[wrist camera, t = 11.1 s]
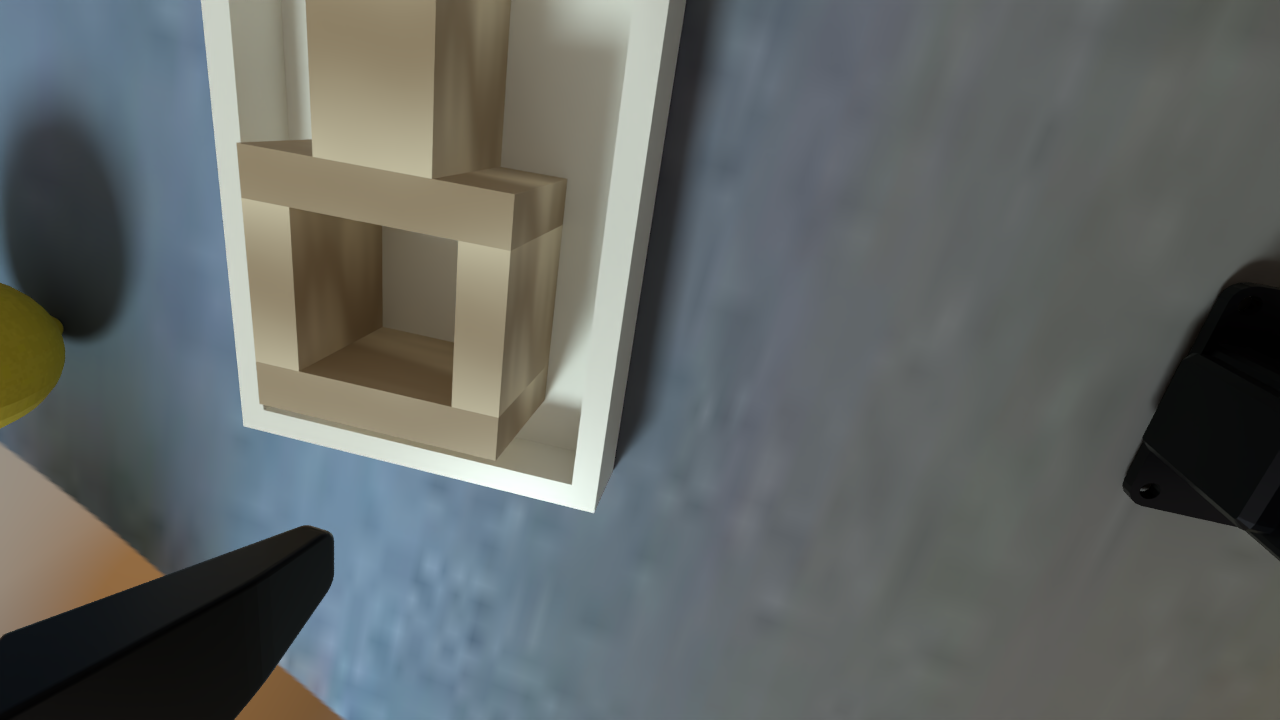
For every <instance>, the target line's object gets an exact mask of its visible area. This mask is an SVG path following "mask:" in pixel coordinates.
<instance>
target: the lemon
mask: <svg viewBox="0 0 1280 720" xmlns="http://www.w3.org/2000/svg"><path fill="white" fill-rule="evenodd" d="M62 333H63V325H62V323H61V322H60V321H59V320H58V319H56V318H54V317H52V316H50V315H49V313H48V312H47V311H46V310H45V309H44V308H43V307H42V306H41V305H39V304H38V303H37V302H36V301H34V300H33V299H32V298H31V297H29V296H27V295H25V294H23V293H22V292H20V291H18V290H16V289H14V288H12V287H10V286H8V285H5V284H2V283H0V428H2V427H4V426H6V425H8V424H10V423H12V422H14V421H16V420H18V419H19V418H21V417H23V416H24V415H26V414H27V413H29V412H30V411H32V410H33V409H34V408H36V407H37V406H38V405H39V404H40V403H41V402H42V401H43V400H44V399H45V398H46V397H47V395H48V394H49V393H50V392H51V390H52V389H53V388H54V387H55V385H56V384H57V382H58V380H59V378H60V376H61V373H62V370H63V367H64V362H65V347H64V342H63V337H62Z"/></svg>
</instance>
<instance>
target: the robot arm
mask: <svg viewBox="0 0 1280 720" xmlns="http://www.w3.org/2000/svg"><path fill="white" fill-rule="evenodd" d="M1249 296H1251V298H1252V299H1251V304H1250V305H1249V306H1248V307H1247V308H1246V309H1244V310H1242V311H1239V310H1238V306H1239V303H1240V302H1241V301H1242V300H1243V299H1244V298H1246V297H1249ZM1143 441H1144V442H1143V444H1142V446H1141V448H1140V450H1139V451H1138V453H1137V455H1136V457H1135V459H1134V461H1133V463H1132V465H1131V467H1130V469H1129V471H1128V473H1127V475H1126V477H1125V479H1124V481H1123V485H1122V486H1123V489H1124V492H1125V493H1126V494H1127V495H1128V496H1129V497H1130V498H1131V499H1132V500H1133V501H1134V502H1135V503H1136V504H1139V505H1141V506H1145V507H1149V508H1154V509H1158V510H1163V511H1167V512H1172V513H1176V514H1181V515H1185V516H1190V517H1194V518H1199V519H1203V520H1208V521H1212V522H1217V523H1221V524H1226V525H1230V526H1235V527H1238V528H1240V529H1242V530H1245V531H1246V532H1247V533H1248V534H1249V535H1250V536H1252V537H1253V538H1254V539H1255V540H1256V541H1257V542H1258V543H1260V544H1261V545H1262V546H1263V547H1264V548H1265V549H1267V550H1268V551H1269V552H1270V553H1271V554H1272V555H1273V556H1275V557H1276V558H1277V559H1278V560H1279V561H1280V288H1277V287H1271V286H1265V285H1260V284H1254V283H1238V284H1235V285H1231V286H1230V287H1228V288H1227V289H1225V290H1224V291H1223V292H1222V293H1221V295H1220V296H1219V297H1218V299H1217V301H1216V303H1215V305H1214V307H1213V309H1212V310H1211V312H1210V314H1209V316H1208V318H1207V320H1206V322H1205V324H1204V326H1203V328H1202V330H1201V332H1200V334H1199V336H1198V338H1197V339H1196V341H1195V343H1194V345H1193V347H1192V349H1191V351H1190V353H1189V355H1188V356H1187V357H1186V358H1185V359H1183V360H1182V361H1181V363H1180V365H1179V367H1178V369H1177V371H1176V373H1175V375H1174V377H1173V379H1172V381H1171V383H1170V385H1169V387H1168V389H1167V391H1166V393H1165V394H1164V396H1163V398H1162V400H1161V402H1160V404H1159V406H1158V408H1157V410H1156V412H1155V414H1154V416H1153V418H1152V420H1151V422H1150V424H1149V426H1148V427H1147V429H1146V431H1145V433H1144V435H1143ZM1148 483H1153V484H1152V487H1151V488H1150V489H1148V490H1146V491H1140V489H1141V488H1142V487H1143V486H1144V485H1146V484H1148ZM333 577H334V538H333V535H332V534H331V533H330V532H329V531H326V530H323V529H319V528H316V527H313V526H309V525H305V526H301V527H297V528H295V529H292V530H289V531H286V532H284V533H281V534H278V535H275V536H273V537H270V538H267V539H265V540H262V541H259V542H256V543H254V544H251V545H248V546H245V547H243V548H240V549H237V550H234V551H232V552H229V553H226V554H223V555H221V556H218V557H215V558H212V559H210V560H207V561H204V562H201V563H199V564H196V565H193V566H190V567H188V568H185V569H182V570H179V571H177V572H174V573H171V574H168V575H166V576H163V577H160V578H157V579H155V580H152V581H149V582H147V583H144V584H141V585H138V586H136V587H133V588H130V589H127V590H125V591H122V592H119V593H116V594H114V595H111V596H108V597H105V598H103V599H100V600H97V601H94V602H92V603H89V604H86V605H84V606H81V607H78V608H75V609H72V610H70V611H67V612H64V613H61V614H59V615H56V616H53V617H50V618H48V619H45V620H42V621H39V622H37V623H34V624H31V625H28V626H26V627H23V628H20V629H17V630H15V631H12V632H9V633H7V634H4V635H3V636H2V637H1V638H0V720H234V719H235V718H236V717H237V715H238V714H239V713H240V712H241V711H242V710H243V708H244V707H245V706H246V705H247V704H248V702H249V701H250V700H251V699H252V697H253V696H254V695H255V694H256V692H257V691H258V690H259V689H260V687H261V686H262V685H263V683H264V682H265V681H266V680H267V678H268V677H269V675H270V674H271V673H272V671H273V670H274V668H275V667H276V666H277V664H278V663H279V661H280V660H281V658H282V657H283V656H284V654H285V653H286V651H287V650H288V648H289V647H290V645H291V644H292V643H293V641H294V640H295V638H296V637H297V635H298V634H299V632H300V631H301V630H302V628H303V627H304V625H305V624H306V622H307V621H308V619H309V618H310V616H311V615H312V614H313V612H314V611H315V609H316V608H317V606H318V605H319V603H320V602H321V601H322V599H323V598H324V596H325V595H326V593H327V592H328V590H329V588H330V586H331V584H332V581H333Z"/></svg>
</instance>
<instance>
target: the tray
mask: <svg viewBox="0 0 1280 720" xmlns="http://www.w3.org/2000/svg"><path fill="white" fill-rule="evenodd" d="M201 5H202V15H203V25H204V35H205V45H206V55H207V65H208V75H209V85H210V95H211V105H212V115H213V125H214V135H215V145H216V155H217V165H218V175H219V185H220V195H221V205H222V215H223V225H224V235H225V245H226V255H227V265H228V275H229V285H230V295H231V305H232V315H233V325H234V335H235V345H236V355H237V365H238V375H239V385H240V395H241V405H242V415H243V425H244V426H245V427H249V428H253V429H257V430H261V431H265V432H269V433H273V434H277V435H281V436H285V437H289V438H293V439H297V440H301V441H305V442H309V443H313V444H317V445H321V446H325V447H329V448H333V449H338V450H342V451H346V452H350V453H354V454H358V455H362V456H366V457H370V458H374V459H378V460H382V461H386V462H390V463H394V464H398V465H402V466H406V467H410V468H414V469H418V470H422V471H426V472H430V473H434V474H438V475H442V476H446V477H450V478H454V479H459V480H463V481H467V482H471V483H475V484H479V485H483V486H487V487H491V488H495V489H499V490H503V491H507V492H511V493H515V494H519V495H523V496H527V497H531V498H535V499H539V500H543V501H547V502H551V503H555V504H559V505H563V506H567V507H571V508H575V509H580V510H584V511H588V512H592V513H594V512H595V510H596V508H597V505H598V503H599V501H600V499H601V497H602V494H603V492H604V490H605V488H606V485H607V483H608V481H609V479H610V477H611V474H612V472H613V467H614V461H615V455H616V448H617V442H618V435H619V429H620V422H621V416H622V410H623V403H624V397H625V390H626V384H627V378H628V371H629V365H630V358H631V352H632V346H633V339H634V333H635V326H636V320H637V314H638V307H639V301H640V294H641V288H642V281H643V275H644V269H645V262H646V256H647V249H648V243H649V237H650V230H651V224H652V217H653V211H654V205H655V198H656V192H657V185H658V179H659V172H660V166H661V160H662V153H663V147H664V140H665V134H666V128H667V121H668V115H669V108H670V102H671V96H672V89H673V83H674V76H675V70H676V64H677V57H678V51H679V44H680V38H681V31H682V25H683V19H684V12H685V6H686V0H511V11H510V26H509V42H508V58H507V74H506V90H505V106H504V122H503V138H502V153H501V167H505V168H510V169H516V170H521V171H527V172H532V173H538V174H543V175H549V176H554V177H560V178H566V179H567V189H566V199H565V208H564V218H563V228H562V238H561V248H560V257H559V267H558V277H557V287H556V296H555V306H554V316H553V326H552V335H551V345H550V355H549V365H548V375H547V384H546V394H545V400H544V402H543V403H542V404H541V405H540V406H539V408H538V409H537V410H536V411H535V413H534V414H533V415H532V416H531V418H530V419H529V420H528V421H527V423H526V424H525V425H524V426H523V427H522V429H521V430H520V431H519V432H518V434H517V435H516V436H515V437H514V439H513V440H512V441H511V442H510V443H509V445H508V446H507V447H506V448H505V450H504V451H503V452H502V453H501V455H500V456H499V457H498V458H497V460H496V461H494V460H490V459H486V458H482V457H477V456H473V455H469V454H465V453H461V452H457V451H453V450H448V449H444V448H440V447H436V446H432V445H428V444H424V443H419V442H415V441H411V440H407V439H403V438H399V437H395V436H390V435H386V434H382V433H378V432H374V431H370V430H366V429H362V428H357V427H353V426H349V425H345V424H341V423H337V422H333V421H328V420H324V419H320V418H316V417H312V416H308V415H304V414H299V413H295V412H291V411H287V410H283V409H279V408H275V407H270V406H266V405H262V404H259V392H258V381H257V370H256V359H255V347H254V336H253V325H252V313H251V302H250V291H249V279H248V268H247V257H246V246H245V234H244V223H243V212H242V200H241V189H240V178H239V167H238V155H237V144H236V143H239V142H261V141H284V140H307V139H312V133H311V111H310V89H309V67H308V45H307V23H306V1H305V0H201ZM457 258H458V241H457V240H452V239H447V238H442V237H437V236H432V235H427V234H422V233H417V232H412V231H407V230H402V229H397V228H391V227H386V226H382V296H383V327H386V328H390V329H395V330H399V331H404V332H409V333H413V334H418V335H422V336H427V337H431V338H436V339H441V340H445V341H450V342H454V332H455V308H456V283H457Z"/></svg>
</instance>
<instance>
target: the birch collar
mask: <svg viewBox="0 0 1280 720" xmlns="http://www.w3.org/2000/svg"><path fill="white" fill-rule="evenodd" d="M305 1H306V23H307V45H308V67H309V89H310V111H311V133H312V139H307V140H284V141H261V142H239V143H236V144H237V155H238V167H239V178H240V189H241V200H242V212H243V223H244V234H245V246H246V257H247V268H248V279H249V291H250V302H251V313H252V325H253V336H254V347H255V359H256V370H257V381H258V392H259V404H262V405H266V406H270V407H275V408H279V409H283V410H287V411H291V412H295V413H299V414H304V415H308V416H312V417H316V418H320V419H324V420H328V421H333V422H337V423H341V424H345V425H349V426H353V427H357V428H362V429H366V430H370V431H374V432H378V433H382V434H386V435H390V436H395V437H399V438H403V439H407V440H411V441H415V442H419V443H424V444H428V445H432V446H436V447H440V448H444V449H448V450H453V451H457V452H461V453H465V454H469V455H473V456H477V457H482V458H486V459H490V460H494V461H496V460H497V458H498V457H499V456H500V455H501V453H502V452H503V451H504V450H505V448H506V447H507V446H508V445H509V443H510V442H511V441H512V440H513V439H514V437H515V436H516V435H517V434H518V432H519V431H520V430H521V429H522V427H523V426H524V425H525V424H526V423H527V421H528V420H529V419H530V418H531V416H532V415H533V414H534V413H535V411H536V410H537V409H538V408H539V406H540V405H541V404H542V403H543V402H544V400H545V394H546V384H547V375H548V365H549V355H550V345H551V335H552V326H553V316H554V306H555V296H556V287H557V277H558V267H559V257H560V248H561V238H562V228H563V218H564V208H565V199H566V189H567V179H566V178H560V177H554V176H549V175H543V174H538V173H532V172H527V171H521V170H516V169H510V168H505V167H501V153H502V138H503V122H504V106H505V90H506V74H507V58H508V42H509V26H510V11H511V0H305ZM382 226H386V227H391V228H397V229H402V230H407V231H412V232H417V233H422V234H427V235H432V236H437V237H442V238H447V239H452V240H457V241H458V258H457V283H456V308H455V332H454V342H450V341H445V340H441V339H436V338H431V337H427V336H422V335H418V334H413V333H409V332H404V331H399V330H395V329H390V328H386V327H383V296H382Z"/></svg>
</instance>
